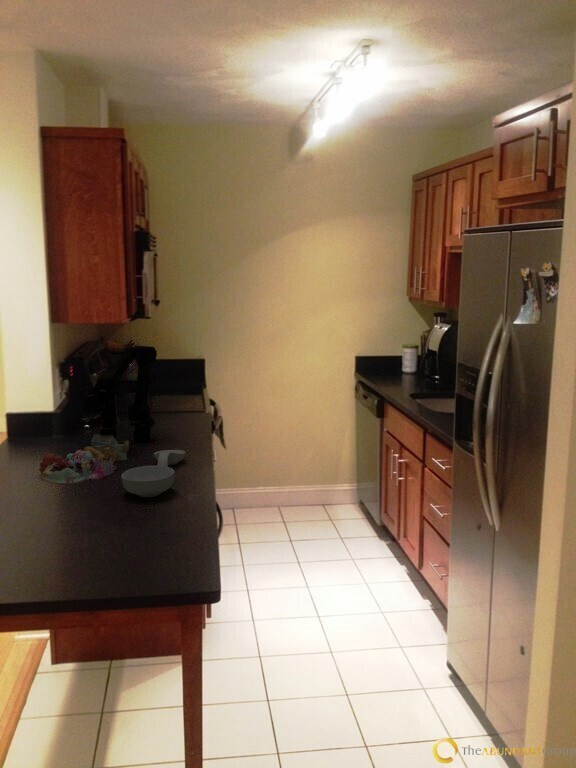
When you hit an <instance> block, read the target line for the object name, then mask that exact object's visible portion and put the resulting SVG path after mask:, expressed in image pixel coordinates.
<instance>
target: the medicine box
mask: <svg viewBox="0 0 576 768" xmlns="http://www.w3.org/2000/svg"><path fill="white" fill-rule="evenodd" d="M90 444H91V445H90V446H103V445H119V443H118V442H117V440H116V438H114V436H113V435H102V436H101V435H100V433H96V434H95V433H94V434H93V436H92V438H91V441H90Z"/></svg>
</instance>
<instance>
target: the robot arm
mask: <svg viewBox="0 0 576 768" xmlns="http://www.w3.org/2000/svg"><path fill="white" fill-rule="evenodd" d="M157 351H158V350H156V348H155V346H150V345H149V346H147V345H139V346H138V347H137V346H127V347H126V348H125V350H124V352H123V353H122V355H120V357H119V358H118V360H117V361H116V362H115V363H114V364H113V366H112V367H111V368H110V369H109V370H107V371H105V372H103V373H102V374H101V375H100V376H98V378H97V379H96V383H95V386H94V388H93V390H92V393H91V394H90V395H87V399H85V401H84V404H83V409H84V411H85V412H86V413H87V414H90V415H91V414H96V413H99V412H100V413H99V414H96V415H94V416H92V417H88V418H87V420H86V423H87V426H88V428H89V429H93V428H94V427H98V426H100V428H99V434H100V435H101V436H102V435H113V436H114V438H115V439H116V438H117V435H118V433H119V426H117V425H120V418H119V417H118V415H117V414H118V409H117V399H116V398H117V396H119V395H120V392H118V391H117V389H118V388H119V386H120V384H121V379H122V376H123V375H124V374H125V373H126V372H127V370H128V369H129V367H130V366H131V365H132V364H133V362H134V361H135V362H136V364H137V368H138V369H137V377H136V385H135V386H136V387H135V394H134V402H133V403H132V404H131V405H128V411H127V419H128V421H129V424H130V426H131V427H134V428H133V440H134V442H135V443H146V442H147V443H151V442H152V433H151V432H152V431H151V428H153V427H155V424H156V423H155V422H156V421H155V420H154V418H153V417H152V416H151V412H150V411H151V410H150V406H149V405H148V396H149V387H150V378H151V377H150V376H151V369H152V368H153V366H154V365H155V363H156V360H157V355H158V354H157V353H158V352H157Z"/></svg>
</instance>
